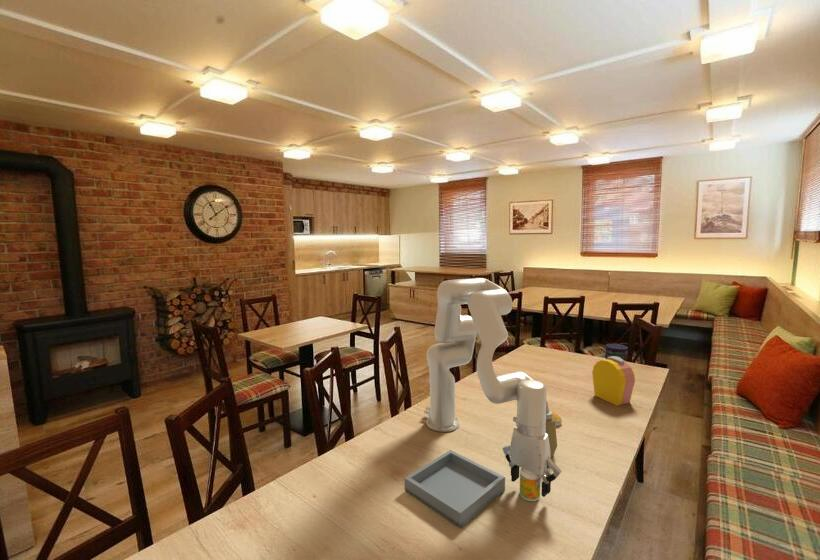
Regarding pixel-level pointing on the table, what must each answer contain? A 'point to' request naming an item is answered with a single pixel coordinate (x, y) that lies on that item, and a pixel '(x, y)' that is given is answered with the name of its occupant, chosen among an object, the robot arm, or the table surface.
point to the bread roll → (557, 419)
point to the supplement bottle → (529, 485)
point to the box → (455, 487)
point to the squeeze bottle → (551, 430)
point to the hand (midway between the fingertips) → (529, 486)
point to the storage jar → (616, 351)
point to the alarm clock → (613, 380)
